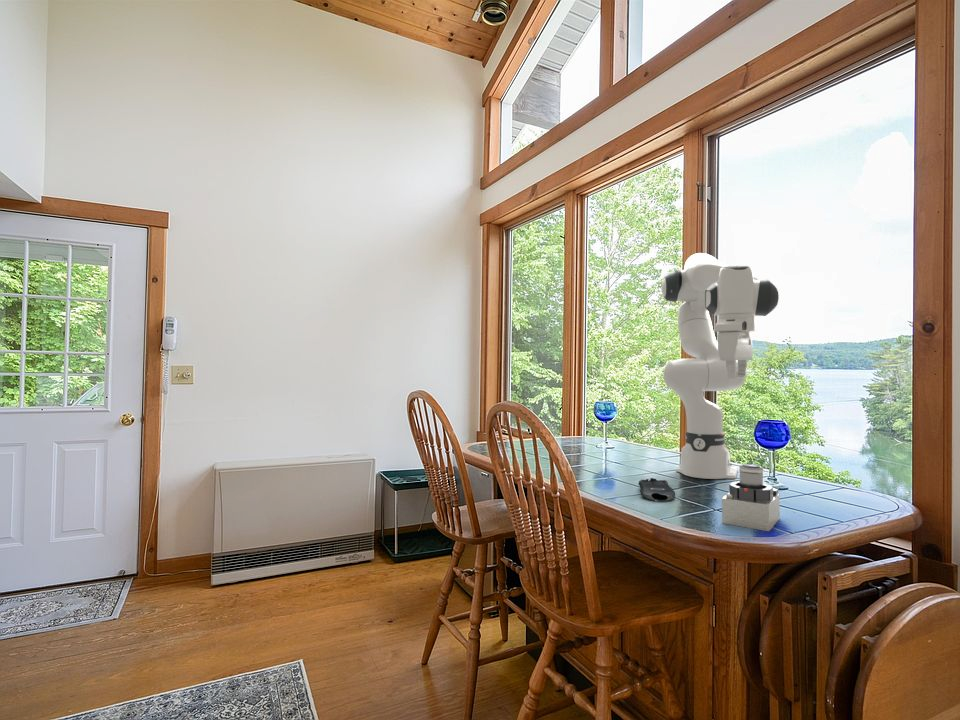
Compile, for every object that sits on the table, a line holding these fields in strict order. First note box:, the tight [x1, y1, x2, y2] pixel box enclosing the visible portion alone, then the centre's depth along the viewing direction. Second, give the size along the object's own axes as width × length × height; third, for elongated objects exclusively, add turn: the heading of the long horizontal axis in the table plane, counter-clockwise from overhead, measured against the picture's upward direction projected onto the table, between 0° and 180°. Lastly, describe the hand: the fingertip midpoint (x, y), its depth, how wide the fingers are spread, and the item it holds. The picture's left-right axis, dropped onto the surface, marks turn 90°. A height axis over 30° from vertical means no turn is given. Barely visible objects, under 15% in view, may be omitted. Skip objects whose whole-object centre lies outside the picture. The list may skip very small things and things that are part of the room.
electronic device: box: [638, 477, 676, 502], centre depth 154 cm, size 9×6×15 cm
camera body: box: [721, 480, 781, 532], centre depth 129 cm, size 13×10×9 cm
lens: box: [738, 463, 764, 489], centre depth 129 cm, size 5×5×7 cm
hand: (737, 377), depth 143 cm, fingers open, 8 cm apart
